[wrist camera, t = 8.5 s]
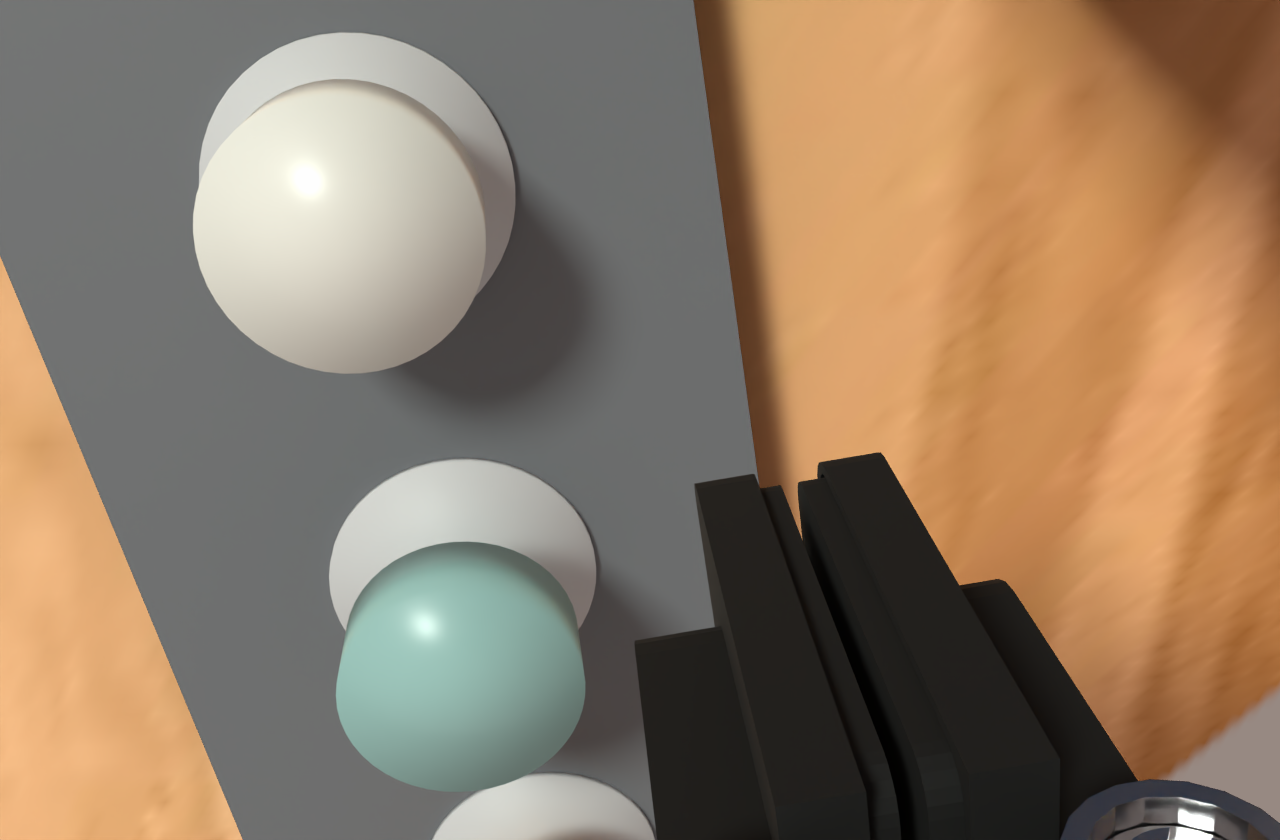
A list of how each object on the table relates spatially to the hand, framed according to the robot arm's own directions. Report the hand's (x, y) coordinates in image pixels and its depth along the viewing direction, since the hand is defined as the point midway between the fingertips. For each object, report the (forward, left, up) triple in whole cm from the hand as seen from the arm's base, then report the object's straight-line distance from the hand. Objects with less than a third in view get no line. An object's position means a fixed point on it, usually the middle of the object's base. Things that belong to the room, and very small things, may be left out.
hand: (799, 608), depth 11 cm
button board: (+5, +8, -17) cm, 19 cm away
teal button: (+5, +8, -13) cm, 16 cm away
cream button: (+5, -1, -14) cm, 15 cm away
